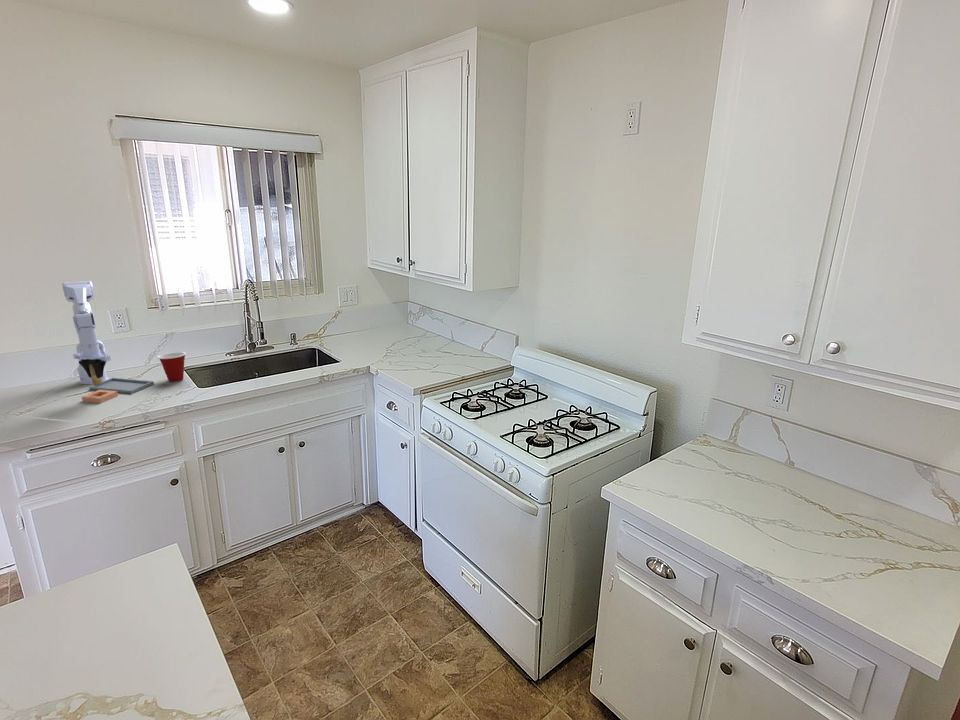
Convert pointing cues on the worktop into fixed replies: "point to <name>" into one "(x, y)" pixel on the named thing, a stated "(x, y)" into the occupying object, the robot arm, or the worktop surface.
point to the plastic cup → (173, 365)
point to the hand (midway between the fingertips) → (96, 377)
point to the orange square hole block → (99, 396)
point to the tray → (122, 385)
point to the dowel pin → (94, 376)
